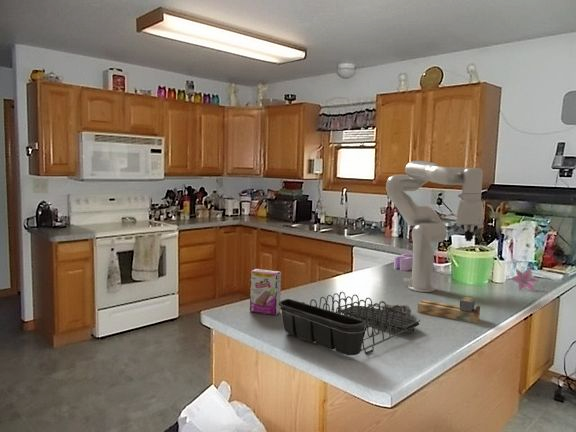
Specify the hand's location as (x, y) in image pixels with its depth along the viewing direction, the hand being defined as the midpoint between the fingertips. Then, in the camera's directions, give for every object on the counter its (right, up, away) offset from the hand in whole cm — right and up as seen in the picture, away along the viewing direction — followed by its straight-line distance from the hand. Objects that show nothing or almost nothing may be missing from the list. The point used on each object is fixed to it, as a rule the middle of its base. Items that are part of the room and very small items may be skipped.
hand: (468, 240), depth 190 cm
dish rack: (-54, -30, -35) cm, 71 cm away
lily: (+38, -26, +28) cm, 54 cm away
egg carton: (-34, -29, -15) cm, 47 cm away
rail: (-14, -28, -15) cm, 35 cm away
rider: (-8, -26, -19) cm, 33 cm away
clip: (-6, -20, +72) cm, 75 cm away
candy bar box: (-86, -27, -15) cm, 91 cm away
